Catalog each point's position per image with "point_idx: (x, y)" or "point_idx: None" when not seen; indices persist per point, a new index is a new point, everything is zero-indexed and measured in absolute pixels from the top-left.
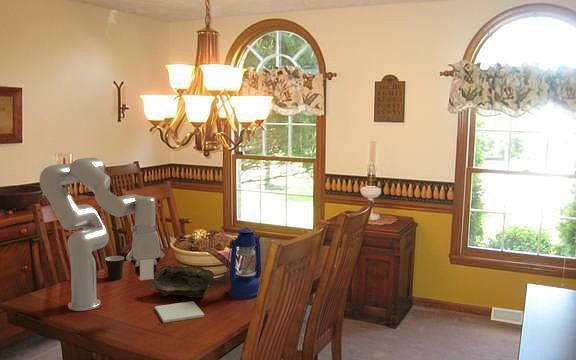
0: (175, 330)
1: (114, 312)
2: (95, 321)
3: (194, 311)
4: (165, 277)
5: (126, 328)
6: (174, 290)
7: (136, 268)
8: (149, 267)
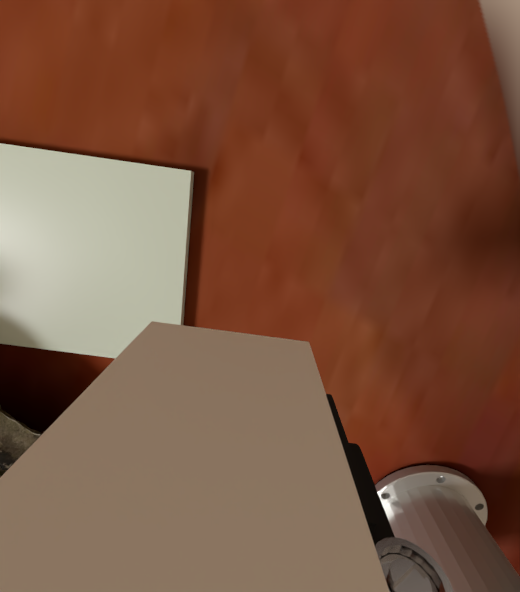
0: (167, 29)
1: (347, 400)
2: (451, 345)
3: (11, 207)
4: None
5: (372, 196)
6: None
7: (376, 514)
8: (146, 431)
